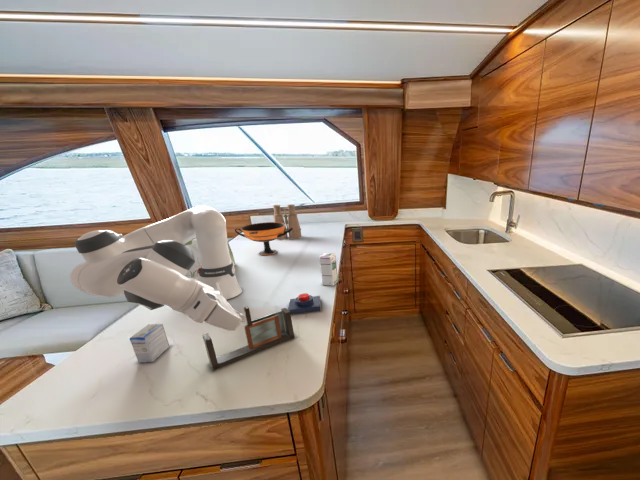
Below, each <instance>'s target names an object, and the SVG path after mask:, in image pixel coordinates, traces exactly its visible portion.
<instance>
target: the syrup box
mask: <svg viewBox="0 0 640 480" xmlns="http://www.w3.org/2000/svg"><path fill="white" fill-rule="evenodd" d="M318 259H319V265H320V274H321V281H322V285H323V286H335V285H336V284H337V283H338V282H339V277H338V276H339V274H338V266H337V257H336V253H334V252H324V253H323V254H322V255H320V256H319V257H318Z"/></svg>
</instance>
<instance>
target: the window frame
mask: <svg viewBox="0 0 640 480" xmlns="http://www.w3.org/2000/svg"><path fill="white" fill-rule="evenodd" d="M275 315H278V317H279V322H280V328H281V334H282V337H281V338H278V339H276V340H273V341H271V342H268V343H266V344H263V345H260V346H258V347H255V348H253V349H249V346H248V344H247V345H245V346H242V347H240V348H236V349H234V350H231V351H229V352H227V353H224V354H221V355H219V356H217V354H216V350H215V347H214V343H213V339H212V337H211V335H210V334H209V333H207V332H206V333H204V334H202V335H201V336H202V339H203V343H204V346H205V350H206V354H207V357H208V361H209V365H210V367H211V369H212V371H213V372H214V371H216V370H219V369H222V368H225V367H227V366H228V365H231V364H234V363H237V362H239V361H242V360H244V359H246V358H249V357H252V356H254V355H257V354H259V353H261V352H264V351H266V350H269V349H271V348H273V347H276V346H278V345H281V344H284V343H286V342H288V341H291V340H293V339H295V333H294V327H293V319H292V315H291V313H290V311H289V310H288V307H283V308H281V310H279V311H276V312H273V313H270V314H267V315H263V316H261V317H258V318H255V319H251V320H252V323H254V322H257V321H260V320H263V319H266V318H269V317H272V316H275Z"/></svg>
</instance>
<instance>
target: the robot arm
mask: <svg viewBox="0 0 640 480" xmlns="http://www.w3.org/2000/svg"><path fill="white" fill-rule="evenodd" d="M227 230H228V229H227V221H226V218H225V216H224V215H223V214H222V212H220V211H218V210H217V209H215V208H213V207H211V206H207V205H196V206H195V207H194V206H193V207H191V208H189V209H187V210H184V211H181V212H179V213H178V214H175V215H172V216H170V217H169V218H166V219H163V220H161V221H157V222H154V223H151V224H148V225H146V226H143V227H141V228H138V229H136V230H133V231H131V232H129V233H127V234H125V235H123V234H122V233H117V232H115V231H113V230H109V229H97V230H92V231H91V230H90V231H88V232H85V233H84V234H82V235H81V236H79V237H78V238H77V239H76V241H75V243H74V247H75V248H76V251H77V252H78V253H79V254H81V256H82V257H83V258H82V259H84V262H82V263H79V264H78V265H76V266H74V267H73V269H72V270H71V272H70V275H69V279H70V282H71V284H72V285H73V287H75V288H76V289H77V290H79V291H80V292H82V293H84V294H86V295H90V296H93V297H97V298H104V299H105V298H107V299H108V298H109V299H110V298H116V297H120V296H122V295H124V296H125V299H126V302H128V303H132V304H136V305H140V306H142V307H145V308H147V309H148V310H150V311H154V310H157V309H160V308H162V307H164V306H168V307H169V308H170V309H172V310H173V311H176V312H179V313H181V314H182V315H184V316H188V317H189V318H190V319H191V320H193V321H194V322H196V323H199V324H203V323H204V322H205V323H206V324H208V325H210V326H213V327H217V328H220V329H224V330H227V331H236V330H237V329H238V327H239V326H240V324H244V323H245V322H247V321H246V317H245V314H244V313H242V312H239V311H238V310H236V309H235V308H233V307H232V305H231V304H230V302H229V301H228V300H231V299H233V298H236V297H237V296H239V295H241V293H242V292H243V290H242V288H241V286H240V284H239V282H238V280H237V276H236V270H235V265H234V266H233V262H231V258H230V253H229V248H228V243H229V241H228V231H227ZM193 239H196V240H197V246H198V253H199V256H200V260H201V264H202V265H201V266H200V268H199V269H198V270H197V271H198V272H197V274H198V273H199V276H198V277H197V278H196V279H193V278H188V277H186V276H185V275H186V273H187V272H188V270H189V269H190V268H191V267H192V266H193V264H194V263H195V258H194V255H193V252H192V250H191V249H190V248H189V247H187V246H185V245H184V244H186V243H187V242H189V241H190V240H193ZM227 241H228V242H227Z"/></svg>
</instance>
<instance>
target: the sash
mask: <svg viewBox="0 0 640 480" xmlns="http://www.w3.org/2000/svg"><path fill="white" fill-rule="evenodd" d="M243 311H244V316H245V317H246V321H245V322H246V325H244V326H243V329H244V333H245V337H246V341H247V345H248V346H249V349H253V348H255V347H258V346H260V345H263V344H266V343H268V342H271V341H273V340H276V339H278V338H281V337H282V334H281V328H280V322H279V317H278V315H275V316H272V317H269V318H266V319H263V320H260V321H257V322H254V323H252V320H253V319H252V315H251V311H250V307H249V306H245V307H243Z"/></svg>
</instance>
